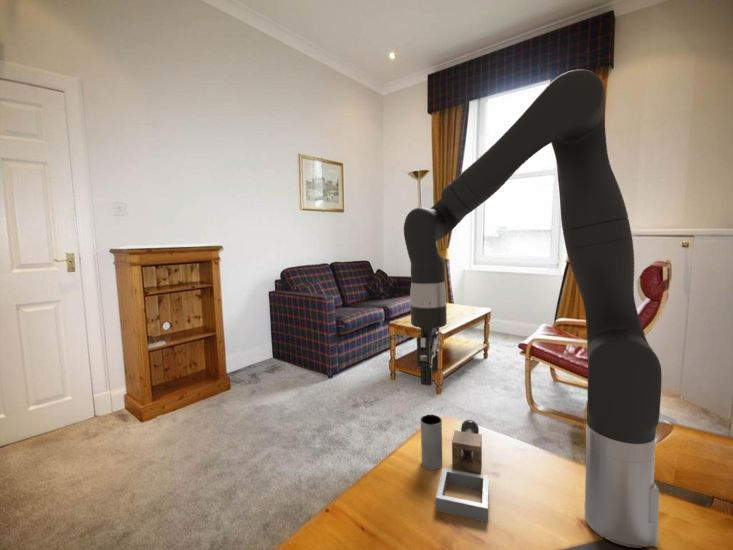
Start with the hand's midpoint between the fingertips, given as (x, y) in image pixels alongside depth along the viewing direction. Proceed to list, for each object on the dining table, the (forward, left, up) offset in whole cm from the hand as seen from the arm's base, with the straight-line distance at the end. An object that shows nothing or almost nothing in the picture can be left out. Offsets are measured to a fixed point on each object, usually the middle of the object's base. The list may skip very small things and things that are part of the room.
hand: (430, 377), depth 76 cm
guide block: (-7, -1, -20) cm, 21 cm away
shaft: (-7, -6, -18) cm, 20 cm away
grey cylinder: (0, 0, -20) cm, 20 cm away
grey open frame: (-7, +9, -20) cm, 23 cm away
